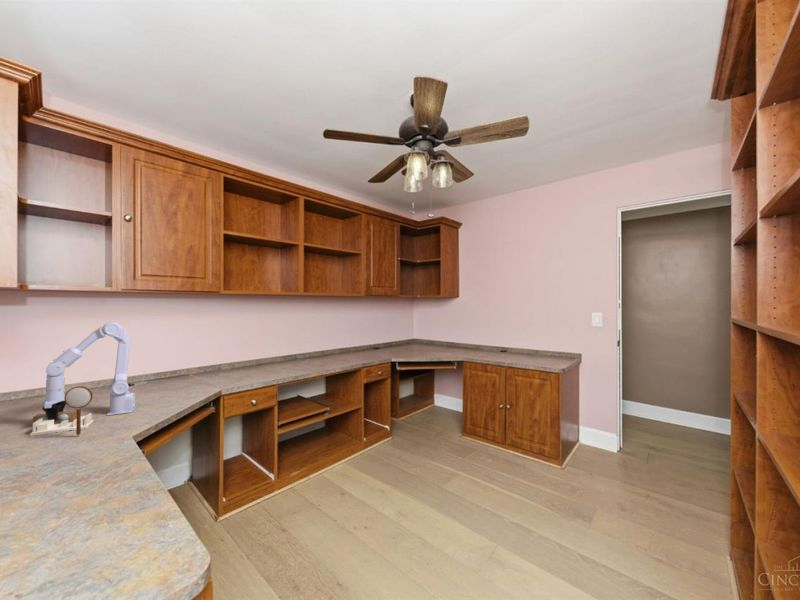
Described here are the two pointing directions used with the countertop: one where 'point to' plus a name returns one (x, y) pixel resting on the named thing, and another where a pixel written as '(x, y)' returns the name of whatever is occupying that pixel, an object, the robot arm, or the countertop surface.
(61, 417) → the tan wooden plank
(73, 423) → the display stand
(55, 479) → the countertop surface
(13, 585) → the countertop surface
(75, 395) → the magnifying glass
